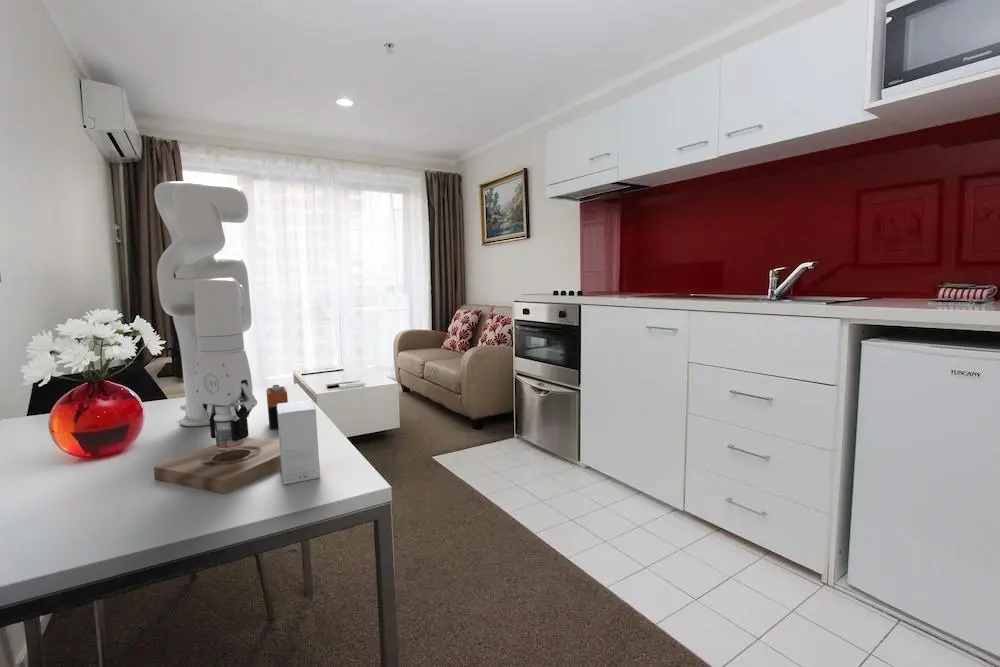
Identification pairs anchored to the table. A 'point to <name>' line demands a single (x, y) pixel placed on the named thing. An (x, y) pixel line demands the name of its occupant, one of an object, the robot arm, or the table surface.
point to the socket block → (222, 466)
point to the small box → (298, 441)
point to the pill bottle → (224, 429)
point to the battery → (275, 403)
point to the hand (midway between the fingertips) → (229, 436)
